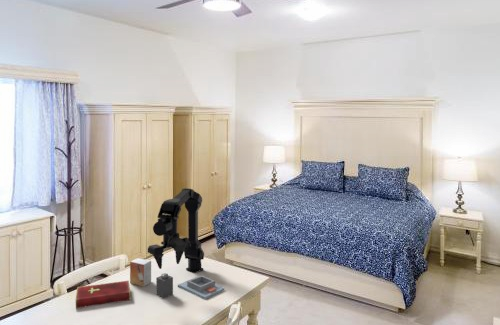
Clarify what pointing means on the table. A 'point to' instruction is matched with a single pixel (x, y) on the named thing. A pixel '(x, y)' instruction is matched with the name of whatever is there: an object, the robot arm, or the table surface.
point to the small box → (140, 272)
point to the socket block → (201, 287)
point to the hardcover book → (102, 294)
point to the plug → (164, 286)
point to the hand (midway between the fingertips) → (169, 266)
